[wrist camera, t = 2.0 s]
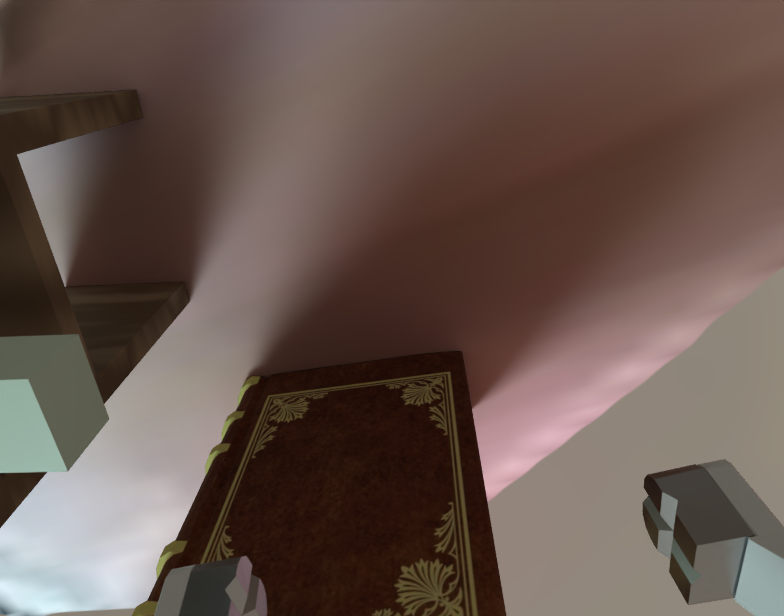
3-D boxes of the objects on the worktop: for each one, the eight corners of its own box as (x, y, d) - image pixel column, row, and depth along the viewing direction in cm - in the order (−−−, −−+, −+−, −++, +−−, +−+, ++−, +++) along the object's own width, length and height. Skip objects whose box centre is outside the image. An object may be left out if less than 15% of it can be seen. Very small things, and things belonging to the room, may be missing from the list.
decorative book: (256, 441, 56) (115, 810, 29) (232, 377, 52) (47, 731, 26) (471, 414, 54) (532, 789, 27) (461, 346, 50) (520, 699, 23)
